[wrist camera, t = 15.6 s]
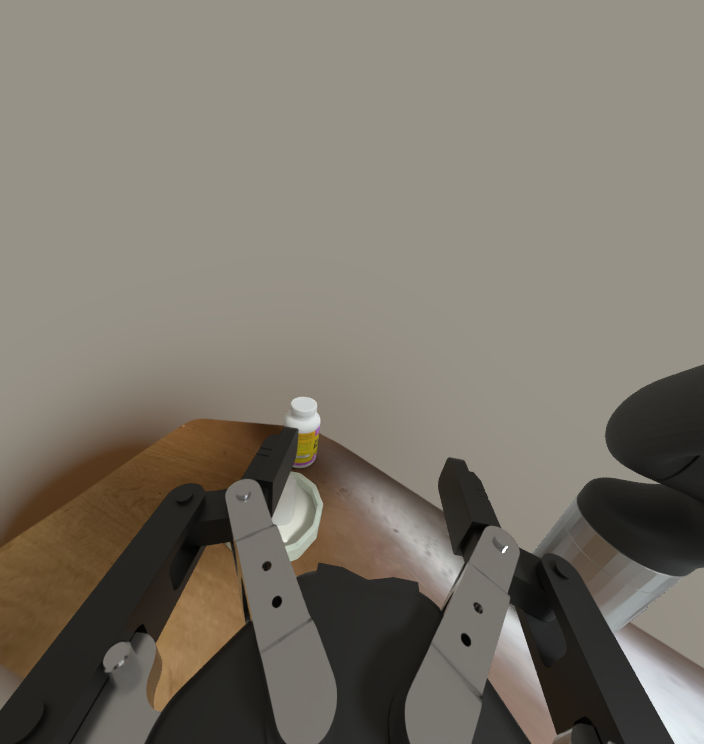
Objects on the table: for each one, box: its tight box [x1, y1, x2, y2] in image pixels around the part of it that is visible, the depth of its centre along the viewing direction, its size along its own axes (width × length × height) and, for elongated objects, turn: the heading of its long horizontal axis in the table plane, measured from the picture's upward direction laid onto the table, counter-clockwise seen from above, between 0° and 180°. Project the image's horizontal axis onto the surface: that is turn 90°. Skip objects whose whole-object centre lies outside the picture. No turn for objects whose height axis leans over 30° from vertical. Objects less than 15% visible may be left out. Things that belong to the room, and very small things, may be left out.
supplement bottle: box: [284, 397, 320, 468], centre depth 50 cm, size 7×7×13 cm
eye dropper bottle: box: [271, 475, 296, 526], centre depth 38 cm, size 4×6×12 cm
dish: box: [226, 472, 323, 562], centre depth 40 cm, size 14×14×2 cm
